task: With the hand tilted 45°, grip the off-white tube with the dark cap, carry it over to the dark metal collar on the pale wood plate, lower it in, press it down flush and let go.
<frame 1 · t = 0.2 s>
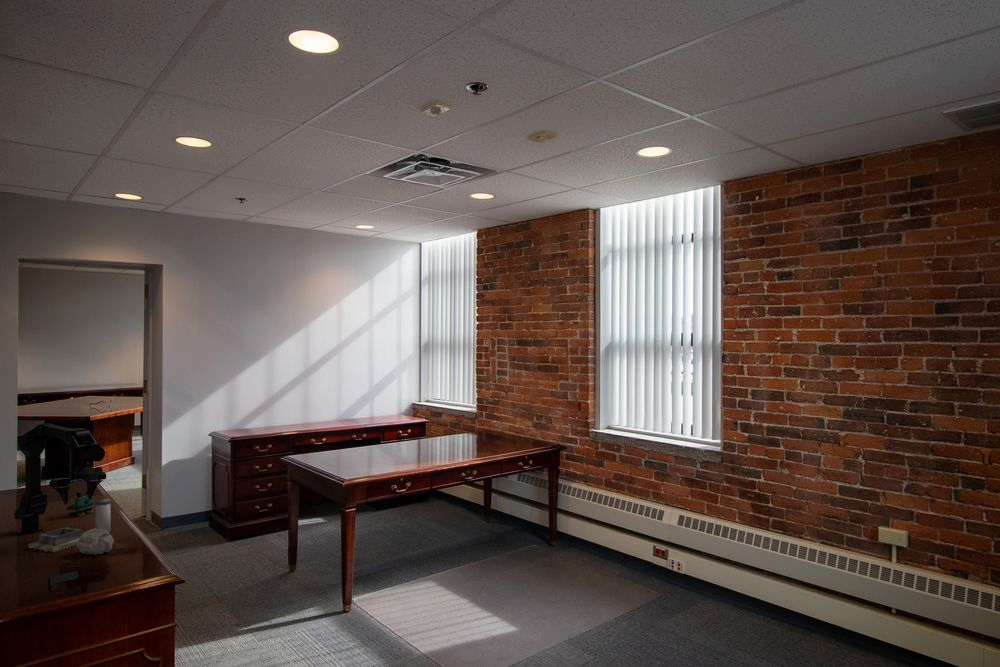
hand: (78, 501, 232), 14 cm above the table, tool pointing down, fingers open, 9 cm apart
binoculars: (79, 514, 266), on the table
phone: (64, 583, 189), on the table
fossil replica: (95, 553, 216), on the table
tube: (103, 532, 239), on the table
collar: (60, 544, 225), on the table
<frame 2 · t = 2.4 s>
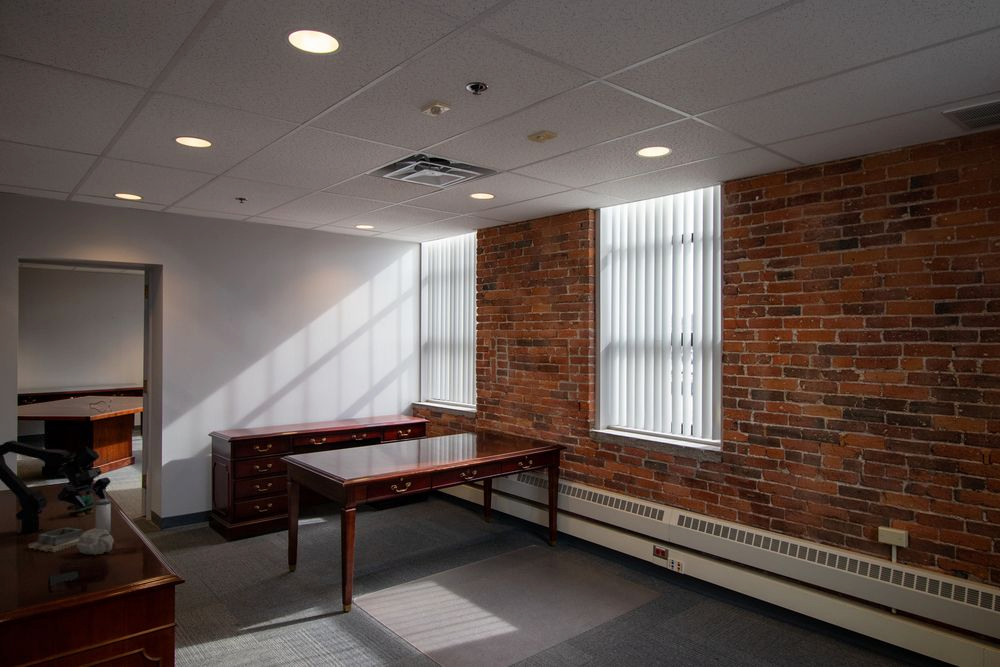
hand: (95, 504, 241), 11 cm above the table, tool tilted 45°, fingers open, 9 cm apart
nothing on the table moved.
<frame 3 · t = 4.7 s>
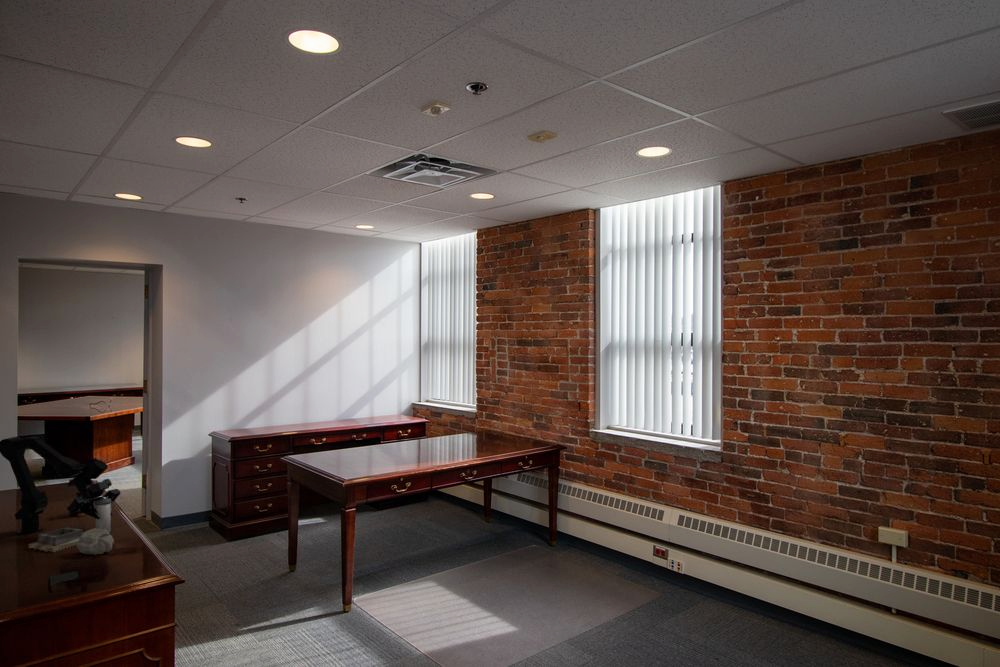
hand: (105, 516, 238), 7 cm above the table, tool tilted 45°, fingers closed on tube, 5 cm apart
tube: (103, 532, 239), on the table, touching gripper
everything else where it was.
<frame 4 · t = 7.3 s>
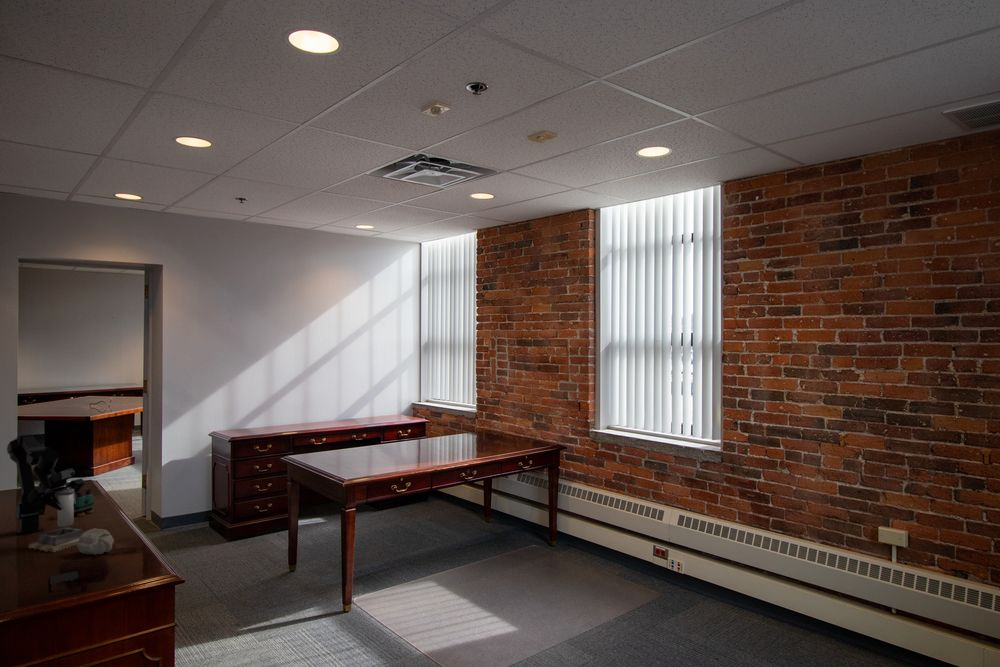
hand: (68, 507, 227), 14 cm above the table, tool tilted 45°, fingers closed on tube, 5 cm apart
tube: (65, 524, 227), point 7 cm above the table, touching gripper
everything else where it was.
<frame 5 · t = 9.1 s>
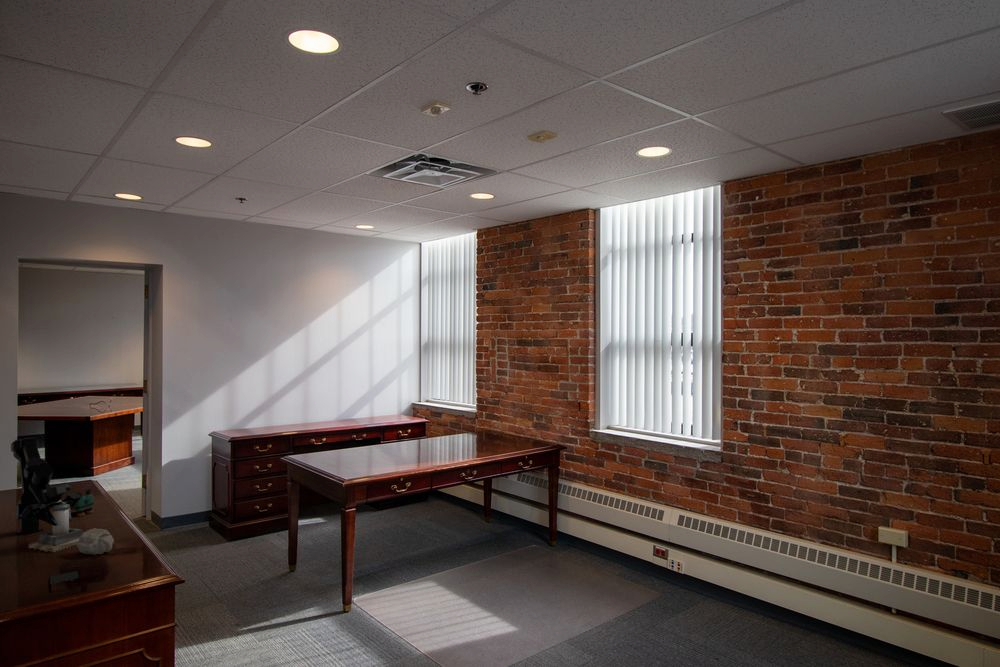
hand: (63, 523, 225), 8 cm above the table, tool tilted 45°, fingers closed on tube, 5 cm apart
tube: (60, 540, 226), point 2 cm above the table, touching gripper
everything else where it was.
when the fingers open (8 cm above the table, at t = 10.0 s): tube stays where it is, resting on collar.
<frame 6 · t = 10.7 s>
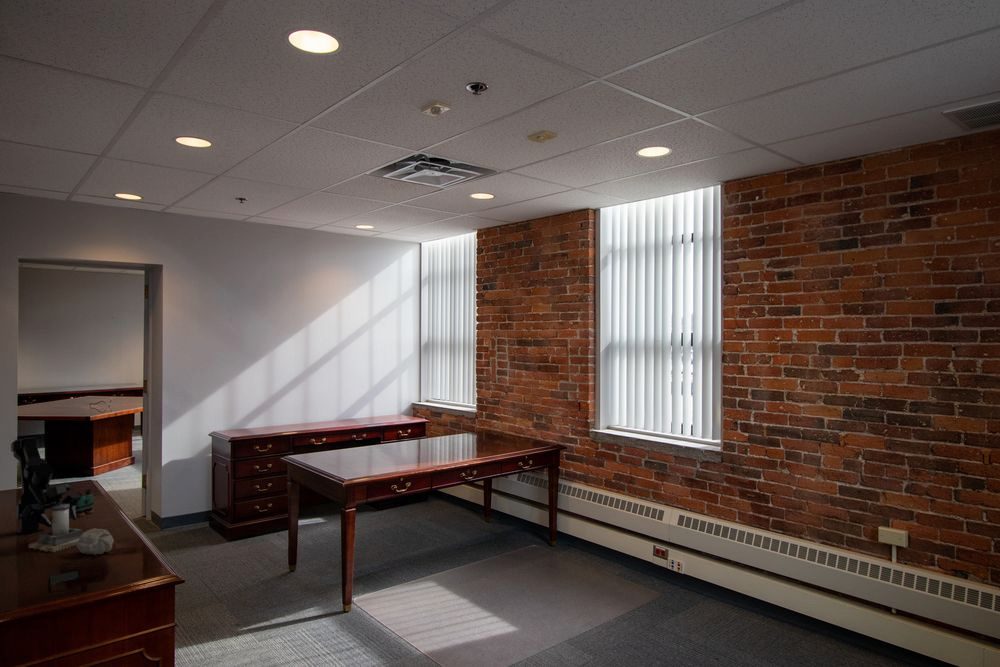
hand: (63, 522, 225), 8 cm above the table, tool tilted 45°, fingers open, 9 cm apart
tube: (60, 540, 226), point 2 cm above the table, touching collar
everything else where it was.
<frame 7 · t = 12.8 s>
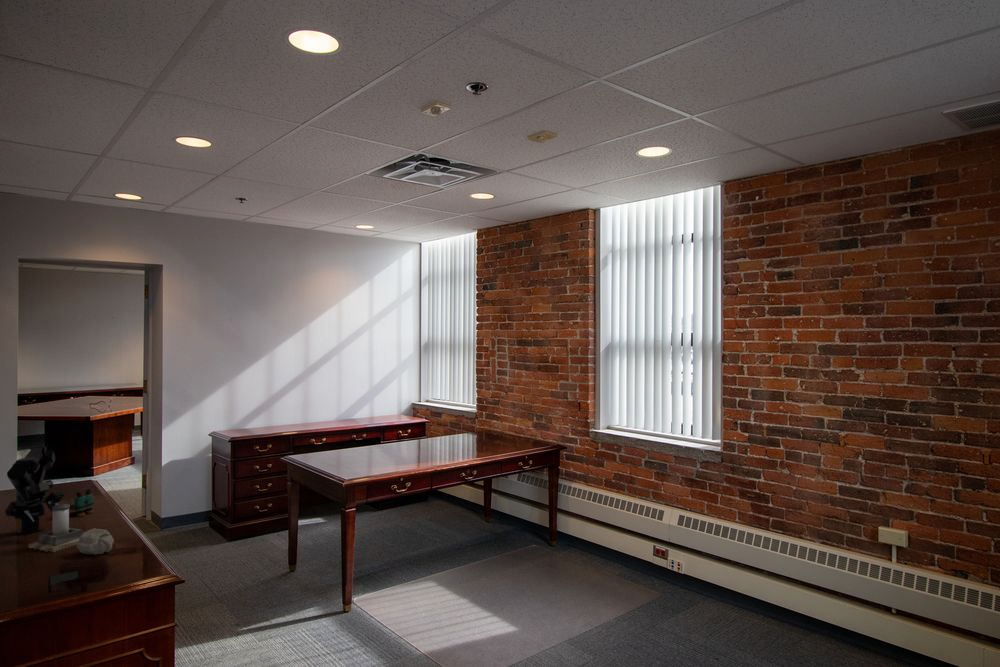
hand: (46, 519, 228), 9 cm above the table, tool tilted 45°, fingers open, 9 cm apart
nothing on the table moved.
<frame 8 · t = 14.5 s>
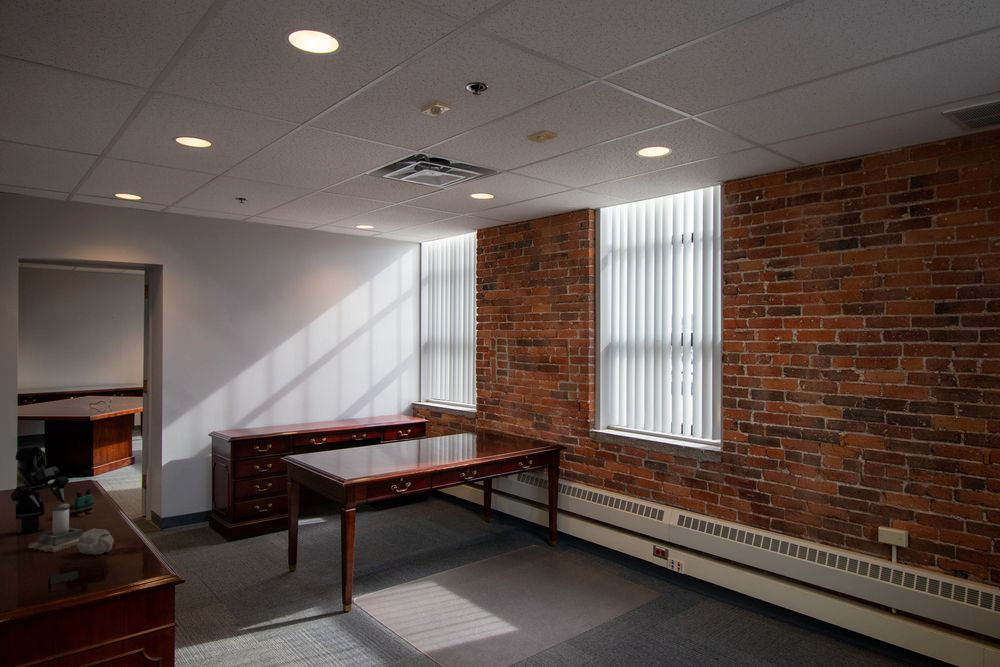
hand: (51, 504, 231), 14 cm above the table, tool tilted 45°, fingers open, 9 cm apart
nothing on the table moved.
at the end: tube 0.0 cm off-centre on the collar, point 1.5 cm above the collar's base; tube tilted 0°; the gripper is holding nothing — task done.
